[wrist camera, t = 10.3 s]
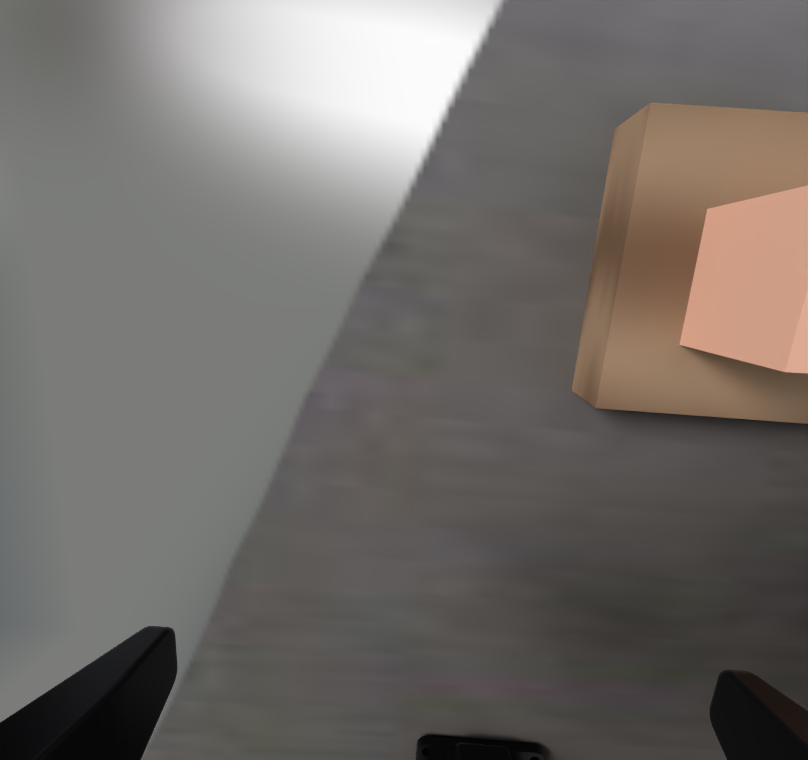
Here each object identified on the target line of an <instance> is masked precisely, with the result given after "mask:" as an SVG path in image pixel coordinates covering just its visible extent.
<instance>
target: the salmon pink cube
mask: <svg viewBox="0 0 808 760" xmlns="http://www.w3.org/2000/svg"><path fill="white" fill-rule="evenodd" d="M680 345H682V346H686V347H690V348H694V349H698V350H701V351H705V352H709V353H713V354H717V355H721V356H725V357H728V358H732V359H736V360H740V361H744V362H748V363H752V364H756V365H759V366H763V367H767V368H771V369H775V370H779V371H783V372H791V373H808V186H803V187H799V188H795V189H791V190H786V191H782V192H778V193H773V194H769V195H765V196H761V197H756V198H752V199H748V200H743V201H739V202H735V203H731V204H726V205H722V206H718V207H714V208H709V209H707V213H706V218H705V223H704V228H703V233H702V238H701V243H700V247H699V252H698V257H697V262H696V267H695V272H694V277H693V281H692V286H691V291H690V296H689V301H688V306H687V311H686V315H685V320H684V325H683V330H682V335H681V340H680Z"/></svg>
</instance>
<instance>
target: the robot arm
mask: <svg viewBox="0 0 808 760" xmlns="http://www.w3.org/2000/svg"><path fill="white" fill-rule="evenodd" d="M176 674H177V656H176V641H175V633H174V631H173V629H172V628H170V627H160V626H148V627H145V628H143V629H142V630H140V631H139V632H137V633H135V634H134V635H132V636H131V637H129V638H128V639H126V640H125V641H123V642H122V643H121V644H119V645H117V646H116V647H114V648H113V649H111V650H110V651H108V652H107V653H105V654H104V655H102V656H101V657H99V658H98V659H96V660H95V661H93V662H91V663H90V664H88V665H87V666H85V667H84V668H82V669H81V670H80V671H78V672H76V673H75V674H74V675H72V676H70V677H69V678H67V679H66V680H64V681H63V682H61V683H60V684H58V685H57V686H55V687H54V688H52V689H50V690H49V691H47V692H46V693H44V694H43V695H41V696H40V697H38V698H37V699H35V700H34V701H32V702H31V703H29V704H28V705H26V706H25V707H23V708H22V709H20V710H19V711H17V712H16V713H14V714H13V715H11V716H10V717H8V718H7V719H5V720H3V721H2V722H0V760H141V758H142V756H143V753H144V751H145V749H146V746H147V744H148V742H149V740H150V737H151V735H152V733H153V730H154V728H155V726H156V723H157V721H158V719H159V717H160V714H161V712H162V710H163V707H164V705H165V703H166V700H167V698H168V696H169V694H170V691H171V689H172V687H173V684H174V682H175V678H176ZM710 719H711V723H712V726H713V729H714V731H715V733H716V736H717V738H718V740H719V742H720V744H721V747H722V749H723V751H724V753H725V756H726V758H727V760H808V711H807V710H805V709H804V708H802V707H801V706H799V705H798V704H797V703H795V702H794V701H792V700H791V699H789V698H788V697H786V696H785V695H784V694H782V693H781V692H779V691H778V690H776V689H775V688H773V687H772V686H771V685H769V684H768V683H766V682H765V681H763V680H762V679H760V678H759V677H758V676H756V675H754V674H753V673H750V672H747V671H736V670H723V671H722V672H721V673H720V674H719V677H718V680H717V684H716V687H715V691H714V694H713V698H712V701H711V705H710ZM416 760H544V756H543V752H542V749H541V748H540V747H539V746H537V745H532V744H520V743H507V742H495V741H482V740H470V739H458V738H445V737H433V736H423V737H421V738H420V739H419V740H418V742H417V749H416Z"/></svg>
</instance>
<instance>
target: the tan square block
mask: <svg viewBox="0 0 808 760" xmlns="http://www.w3.org/2000/svg"><path fill="white" fill-rule="evenodd" d="M803 186H808V113H803V112H787V111H772V110H757V109H742V108H726V107H711V106H696V105H681V104H666V103H649V104H648V105H647V106H645V107H644V108H642V109H641V110H640V111H638V112H637V113H636V114H634V115H633V116H632V117H630V118H629V119H628V120H626V121H625V122H624V123H622V124H621V125H620V126H618V127H617V128H616V129H614V135H613V141H612V147H611V154H610V160H609V166H608V172H607V178H606V184H605V190H604V196H603V203H602V209H601V215H600V221H599V227H598V233H597V239H596V246H595V252H594V258H593V264H592V270H591V276H590V282H589V288H588V295H587V301H586V307H585V313H584V319H583V325H582V331H581V337H580V344H579V350H578V356H577V362H576V368H575V374H574V380H573V387H572V391H573V392H574V393H576V394H577V395H578V396H580V397H581V398H582V399H584V400H585V401H587V402H588V403H589V404H591V405H592V406H593V407H595V408H600V409H614V410H627V411H641V412H655V413H668V414H682V415H695V416H709V417H723V418H736V419H750V420H763V421H777V422H791V423H804V424H808V373H791V372H783V371H779V370H775V369H771V368H767V367H763V366H759V365H756V364H752V363H748V362H744V361H740V360H736V359H732V358H728V357H725V356H721V355H717V354H713V353H709V352H705V351H701V350H698V349H694V348H690V347H686V346H682V345H680V340H681V335H682V330H683V325H684V320H685V315H686V311H687V306H688V301H689V296H690V291H691V286H692V281H693V277H694V272H695V267H696V262H697V257H698V252H699V247H700V243H701V238H702V233H703V228H704V223H705V218H706V213H707V209H709V208H714V207H718V206H722V205H726V204H731V203H735V202H739V201H743V200H748V199H752V198H756V197H761V196H765V195H769V194H773V193H778V192H782V191H786V190H791V189H795V188H799V187H803Z"/></svg>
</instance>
